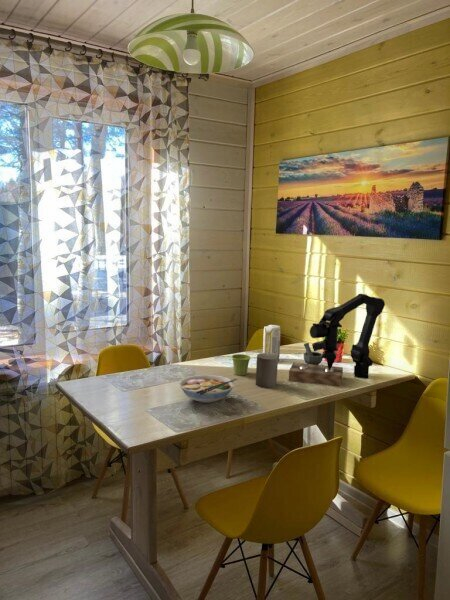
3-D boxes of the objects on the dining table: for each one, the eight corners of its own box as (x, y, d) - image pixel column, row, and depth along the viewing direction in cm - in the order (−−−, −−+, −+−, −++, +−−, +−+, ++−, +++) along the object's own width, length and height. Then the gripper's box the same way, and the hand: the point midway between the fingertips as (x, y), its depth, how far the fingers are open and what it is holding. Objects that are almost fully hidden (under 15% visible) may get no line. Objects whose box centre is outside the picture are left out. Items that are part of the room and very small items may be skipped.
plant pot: (250, 371, 251) (251, 354, 250) (249, 377, 242) (250, 359, 240) (231, 370, 252) (232, 353, 250) (230, 376, 243) (230, 358, 241)
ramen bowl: (205, 386, 227) (206, 369, 225) (246, 399, 212) (247, 380, 211) (165, 401, 207) (165, 382, 206) (207, 415, 193) (207, 395, 192)
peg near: (333, 378, 241) (333, 368, 240) (332, 380, 237) (333, 370, 237) (324, 377, 242) (325, 367, 241) (324, 379, 238) (324, 369, 238)
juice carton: (280, 360, 273) (282, 325, 270) (273, 363, 265) (275, 328, 262) (268, 357, 276) (269, 323, 273) (260, 361, 269) (262, 326, 266)
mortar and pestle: (326, 367, 260) (327, 345, 258) (313, 371, 254) (315, 347, 252) (309, 362, 269) (310, 340, 267) (297, 365, 263) (298, 343, 261)
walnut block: (342, 377, 245) (342, 367, 244) (340, 386, 232) (341, 375, 231) (292, 372, 251) (293, 362, 250) (288, 380, 238) (289, 370, 237)
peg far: (307, 376, 244) (308, 366, 243) (307, 378, 240) (307, 368, 240) (299, 375, 245) (300, 365, 244) (298, 377, 241) (299, 367, 241)
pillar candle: (252, 385, 229) (253, 353, 227) (260, 379, 238) (262, 349, 236) (271, 389, 225) (273, 357, 223) (280, 383, 234) (281, 352, 231)
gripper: (315, 331, 247) (314, 362, 250) (311, 339, 230) (310, 372, 232) (338, 333, 245) (337, 364, 247) (336, 341, 227) (334, 375, 229)
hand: (329, 368), depth 239 cm, fingers closed, pressing on peg near
